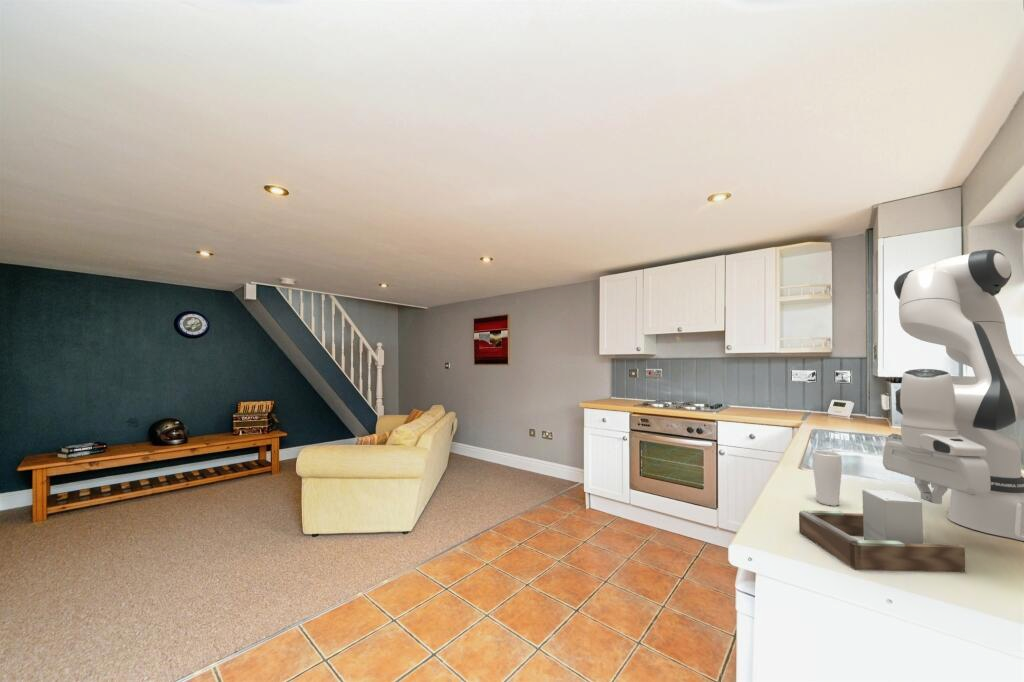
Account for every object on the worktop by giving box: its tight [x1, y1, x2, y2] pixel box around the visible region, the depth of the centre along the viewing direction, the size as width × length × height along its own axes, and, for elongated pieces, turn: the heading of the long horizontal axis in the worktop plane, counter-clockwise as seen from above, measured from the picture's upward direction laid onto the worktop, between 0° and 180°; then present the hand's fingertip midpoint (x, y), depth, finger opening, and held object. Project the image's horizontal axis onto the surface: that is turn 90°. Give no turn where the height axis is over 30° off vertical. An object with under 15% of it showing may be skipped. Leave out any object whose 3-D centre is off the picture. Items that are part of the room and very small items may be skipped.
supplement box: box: [861, 489, 924, 544], centre depth 88 cm, size 7×7×13 cm
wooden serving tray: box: [798, 509, 967, 573], centre depth 88 cm, size 22×17×6 cm
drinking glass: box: [812, 449, 843, 507], centre depth 115 cm, size 7×7×15 cm
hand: (931, 501), depth 87 cm, fingers closed
